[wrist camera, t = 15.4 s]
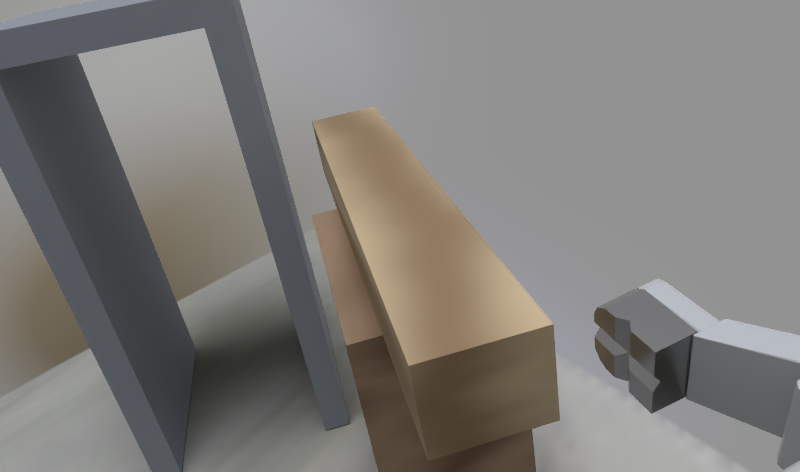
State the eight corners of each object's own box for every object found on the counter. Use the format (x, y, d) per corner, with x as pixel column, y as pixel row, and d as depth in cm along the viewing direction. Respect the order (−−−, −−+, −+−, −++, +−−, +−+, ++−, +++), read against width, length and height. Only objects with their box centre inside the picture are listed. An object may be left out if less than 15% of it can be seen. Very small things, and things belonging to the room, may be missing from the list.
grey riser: (156, 481, 37) (-62, 42, 25) (176, 355, 49) (32, 13, 37) (349, 423, 39) (228, -15, 27) (325, 314, 50) (232, -27, 38)
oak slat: (428, 460, 15) (408, 366, 14) (324, 172, 35) (312, 121, 33) (559, 420, 16) (553, 324, 14) (384, 158, 35) (374, 106, 34)
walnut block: (419, 627, 27) (345, 345, 20) (372, 447, 37) (311, 215, 30) (546, 582, 28) (518, 296, 21) (467, 418, 37) (430, 185, 30)
